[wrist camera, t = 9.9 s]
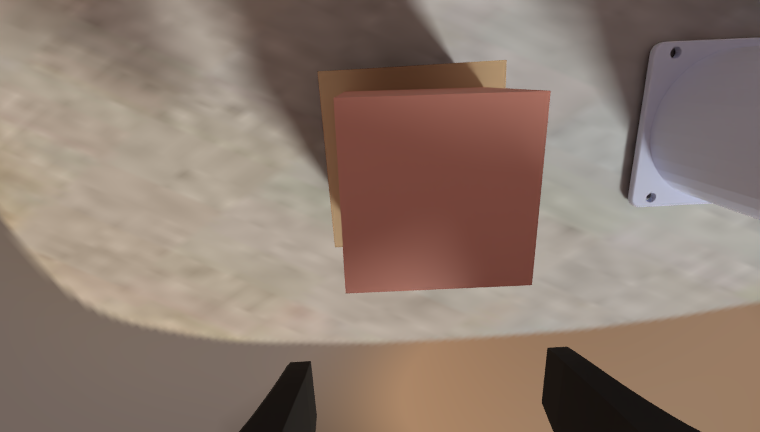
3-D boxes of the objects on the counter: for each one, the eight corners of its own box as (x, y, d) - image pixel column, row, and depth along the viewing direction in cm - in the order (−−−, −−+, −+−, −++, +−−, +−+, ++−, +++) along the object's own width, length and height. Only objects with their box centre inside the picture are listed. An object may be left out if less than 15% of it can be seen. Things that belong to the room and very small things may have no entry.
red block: (483, 87, 13) (550, 90, 9) (477, 219, 15) (531, 285, 10) (344, 91, 13) (333, 97, 8) (351, 223, 15) (345, 293, 10)
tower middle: (477, 63, 16) (506, 60, 13) (475, 207, 18) (499, 236, 15) (326, 73, 16) (317, 71, 13) (340, 216, 18) (335, 247, 15)
